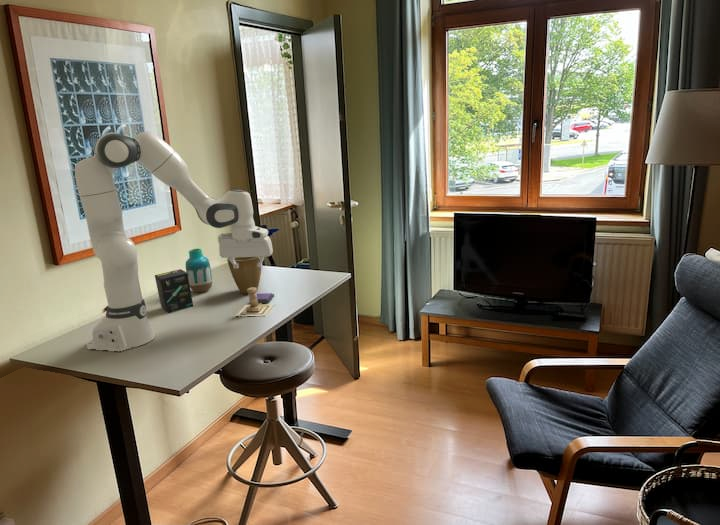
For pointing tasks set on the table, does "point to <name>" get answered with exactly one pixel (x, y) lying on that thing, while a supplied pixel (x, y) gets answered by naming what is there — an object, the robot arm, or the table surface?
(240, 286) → the plant pot
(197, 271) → the vase
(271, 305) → the sheet
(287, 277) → the table surface
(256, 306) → the stamp
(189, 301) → the tampon box
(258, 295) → the ink pad
